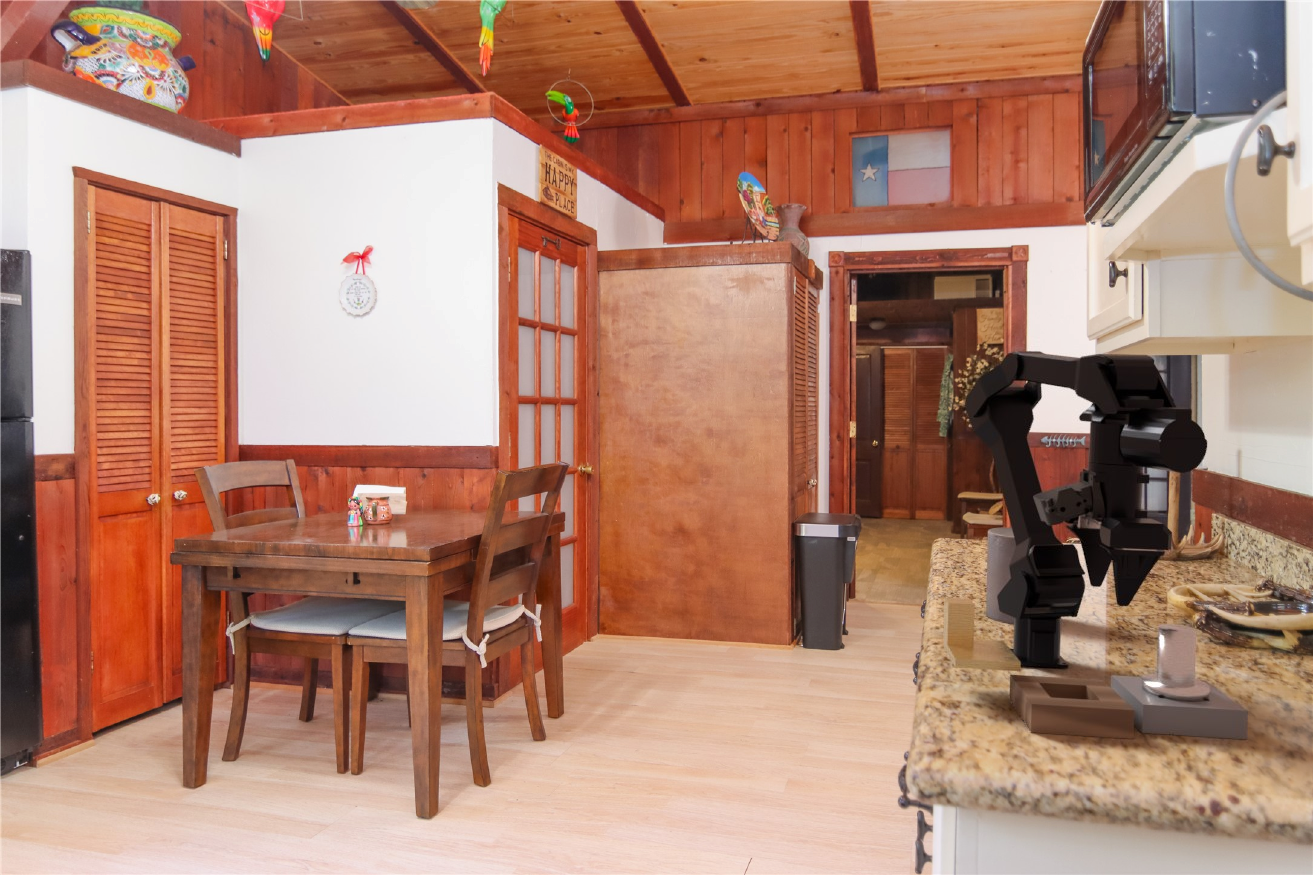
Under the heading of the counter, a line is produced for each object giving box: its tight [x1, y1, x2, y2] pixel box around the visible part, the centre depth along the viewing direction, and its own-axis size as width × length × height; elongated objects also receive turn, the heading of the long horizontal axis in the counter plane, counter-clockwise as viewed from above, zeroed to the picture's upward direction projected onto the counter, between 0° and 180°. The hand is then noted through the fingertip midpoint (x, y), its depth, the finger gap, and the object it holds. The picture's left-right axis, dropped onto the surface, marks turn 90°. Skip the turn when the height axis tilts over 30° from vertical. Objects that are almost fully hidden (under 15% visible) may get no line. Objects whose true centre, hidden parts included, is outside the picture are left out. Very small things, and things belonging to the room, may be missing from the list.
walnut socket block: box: [1008, 674, 1135, 740], centre depth 99 cm, size 10×10×3 cm
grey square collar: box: [1110, 674, 1249, 740], centre depth 99 cm, size 10×10×3 cm
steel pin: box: [1141, 623, 1210, 701], centre depth 99 cm, size 6×6×10 cm
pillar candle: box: [985, 526, 1016, 625], centre depth 143 cm, size 10×10×15 cm
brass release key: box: [942, 597, 1022, 672], centre depth 106 cm, size 9×7×6 cm
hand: (1108, 595), depth 106 cm, fingers open, 9 cm apart
